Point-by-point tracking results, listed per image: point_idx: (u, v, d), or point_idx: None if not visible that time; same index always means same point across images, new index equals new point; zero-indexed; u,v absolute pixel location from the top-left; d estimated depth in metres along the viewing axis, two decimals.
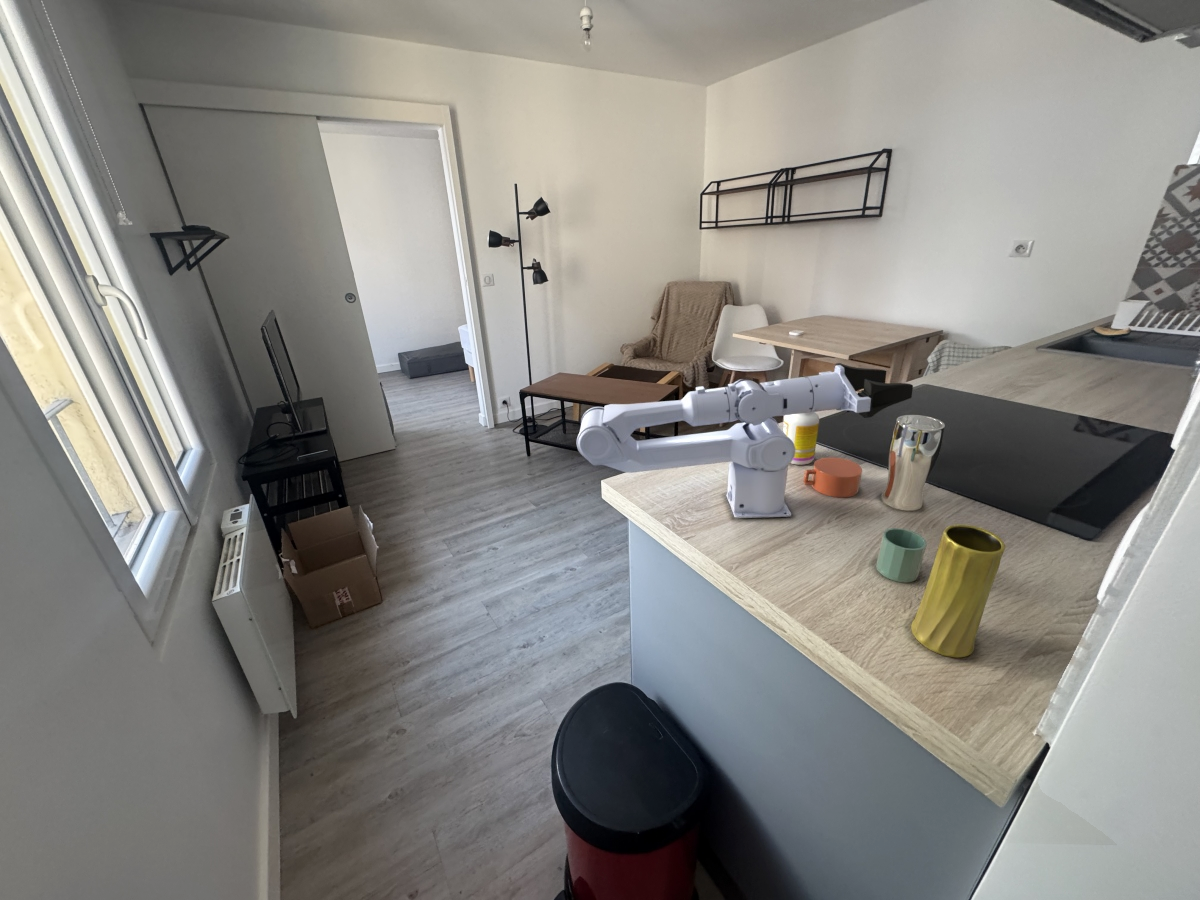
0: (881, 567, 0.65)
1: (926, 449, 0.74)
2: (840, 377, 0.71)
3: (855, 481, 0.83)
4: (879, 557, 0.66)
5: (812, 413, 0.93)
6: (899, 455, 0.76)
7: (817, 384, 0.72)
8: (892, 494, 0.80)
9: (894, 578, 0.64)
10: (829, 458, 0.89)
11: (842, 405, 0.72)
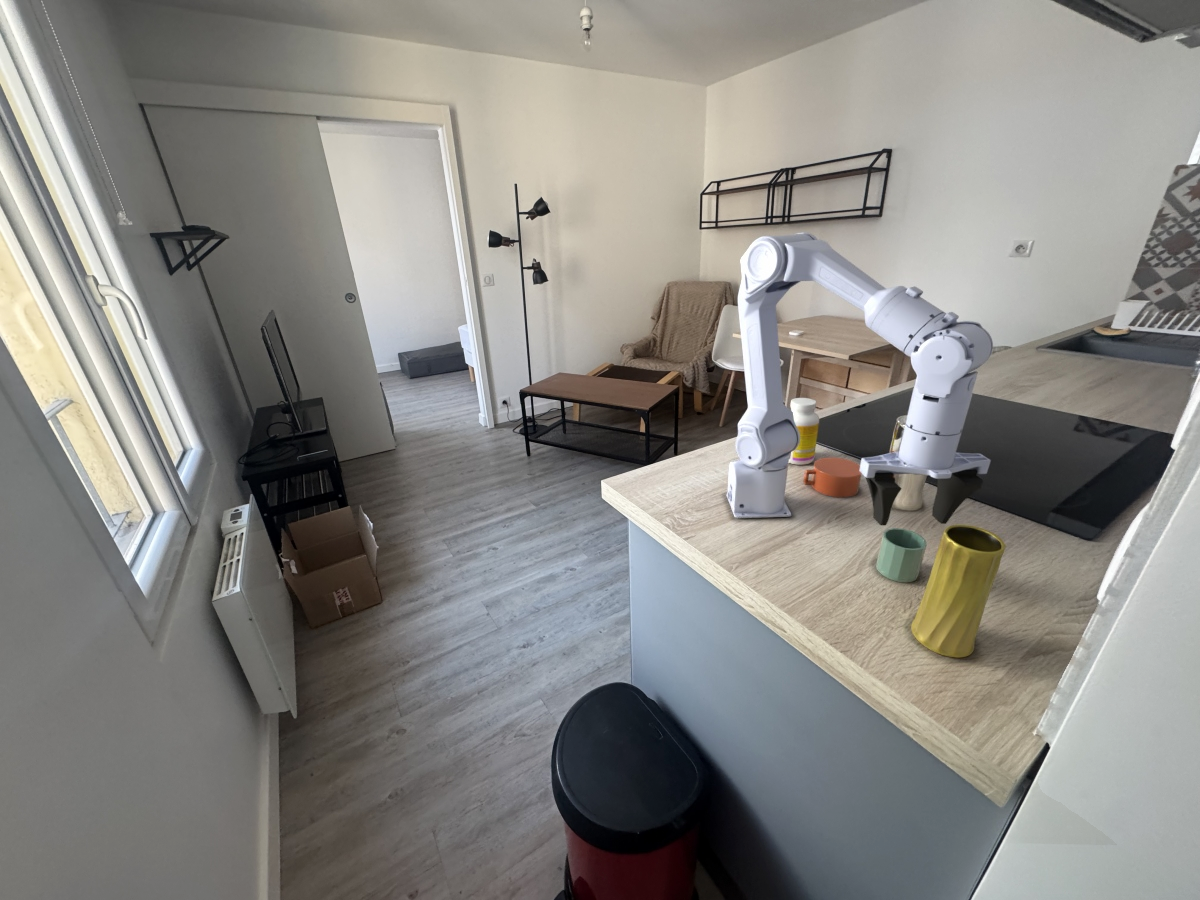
0: (881, 567, 0.65)
1: None
2: (926, 468, 0.56)
3: (855, 481, 0.83)
4: (879, 557, 0.66)
5: (812, 413, 0.93)
6: None
7: (926, 440, 0.55)
8: None
9: (894, 578, 0.64)
10: (829, 458, 0.89)
11: (897, 454, 0.60)
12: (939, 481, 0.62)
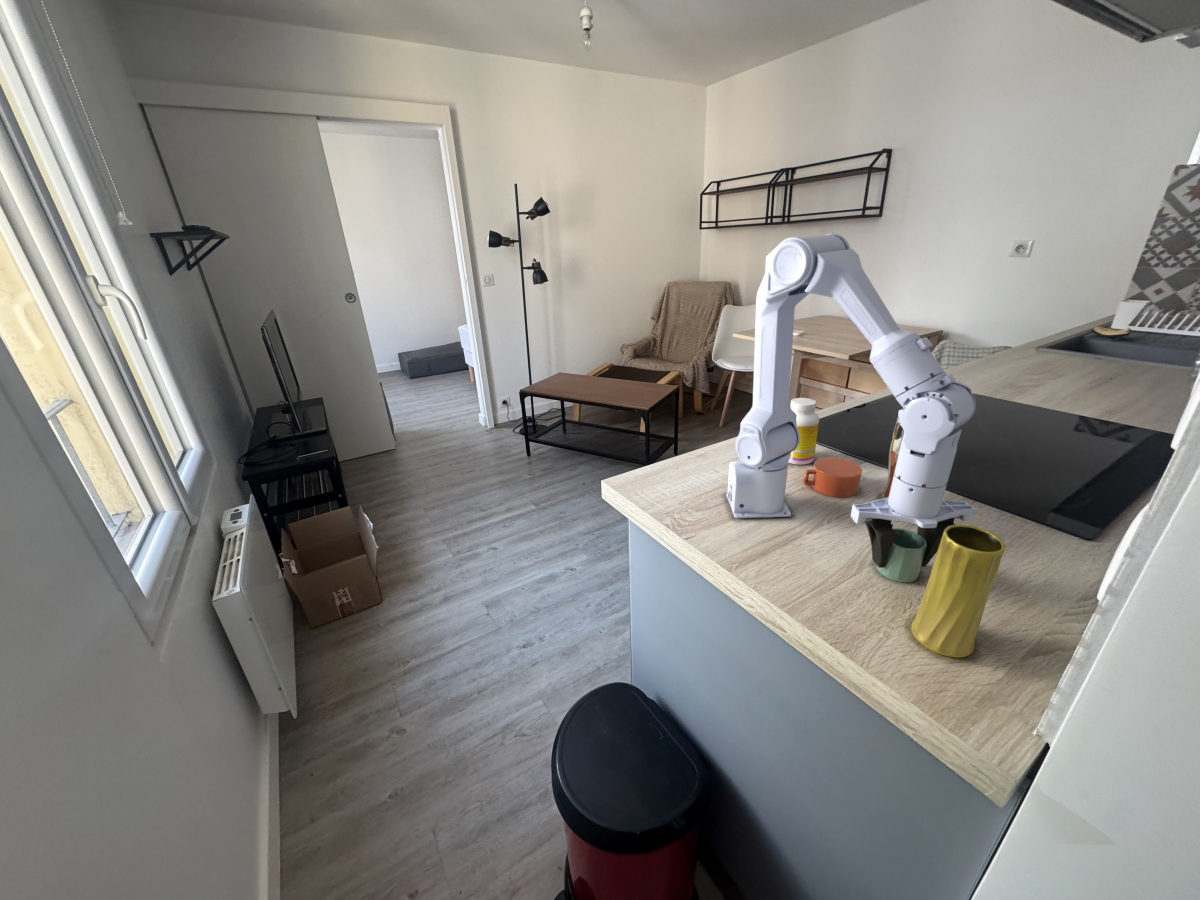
0: None
1: None
2: (913, 517, 0.59)
3: (855, 481, 0.83)
4: None
5: (812, 413, 0.93)
6: None
7: (913, 491, 0.58)
8: None
9: (894, 578, 0.64)
10: (829, 458, 0.89)
11: (886, 501, 0.63)
12: None
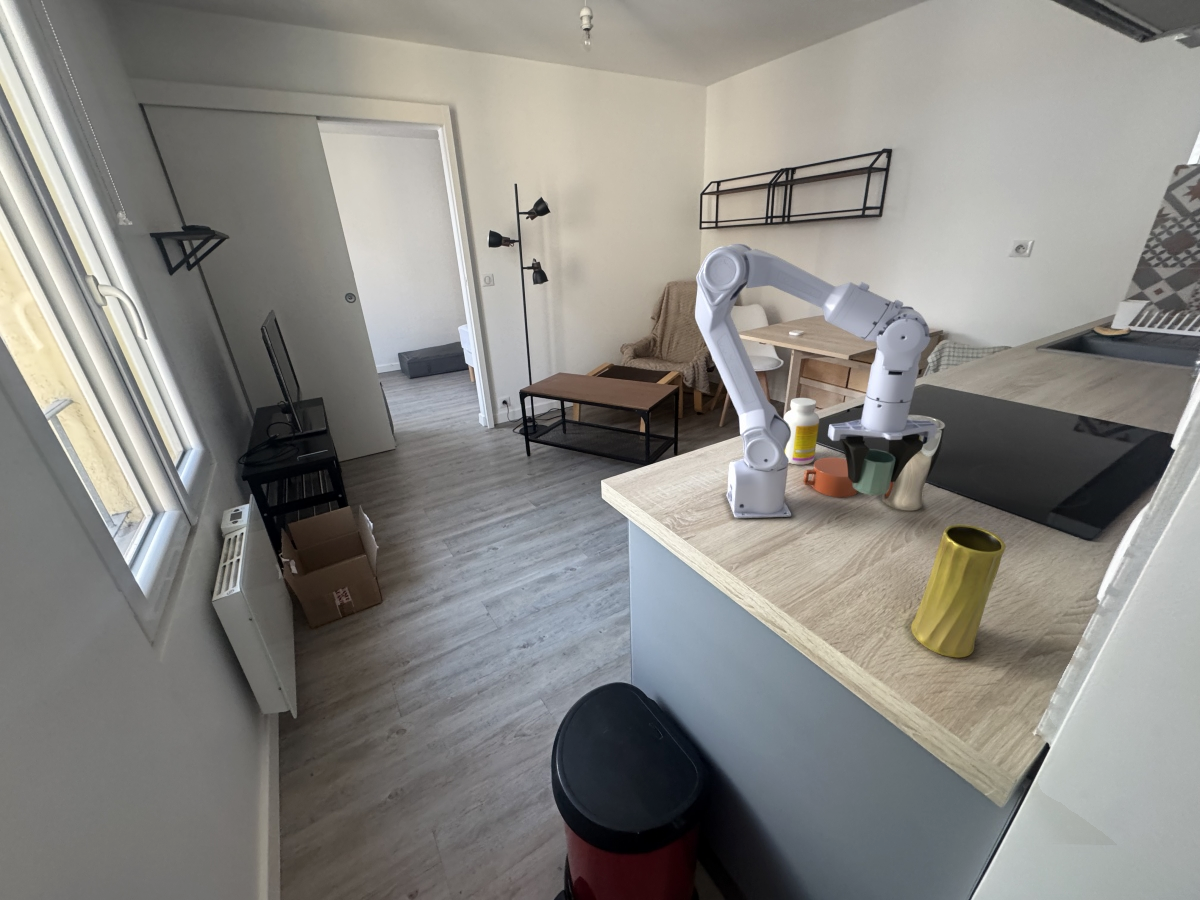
0: (856, 483, 0.73)
1: (926, 449, 0.74)
2: (882, 432, 0.67)
3: None
4: None
5: (812, 413, 0.93)
6: None
7: (881, 407, 0.66)
8: (892, 494, 0.80)
9: (866, 492, 0.72)
10: (829, 458, 0.89)
11: (859, 422, 0.71)
12: (890, 445, 0.72)
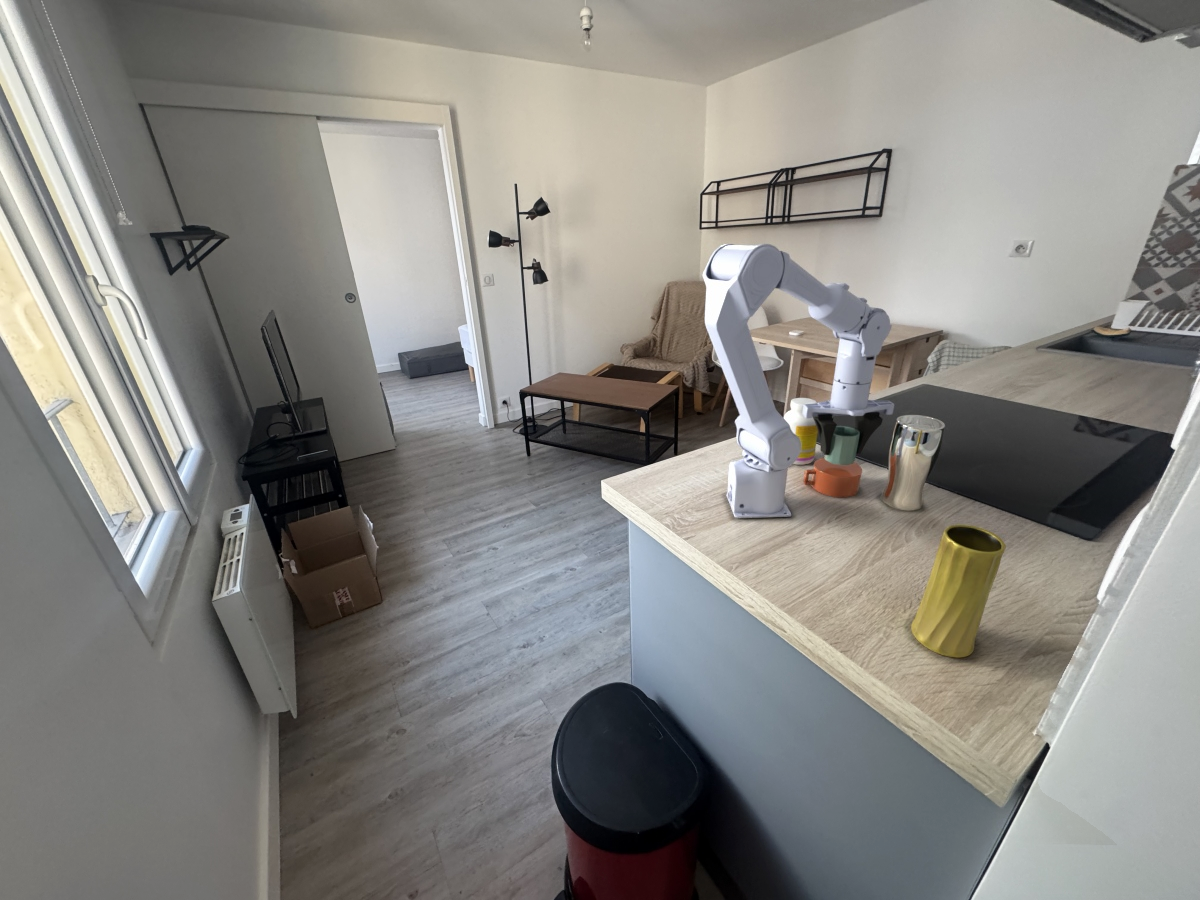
0: (827, 455, 0.84)
1: (926, 449, 0.74)
2: (847, 409, 0.78)
3: (855, 481, 0.83)
4: None
5: None
6: (899, 455, 0.76)
7: (846, 388, 0.77)
8: (892, 494, 0.80)
9: (836, 462, 0.83)
10: None
11: (829, 402, 0.82)
12: (856, 423, 0.84)
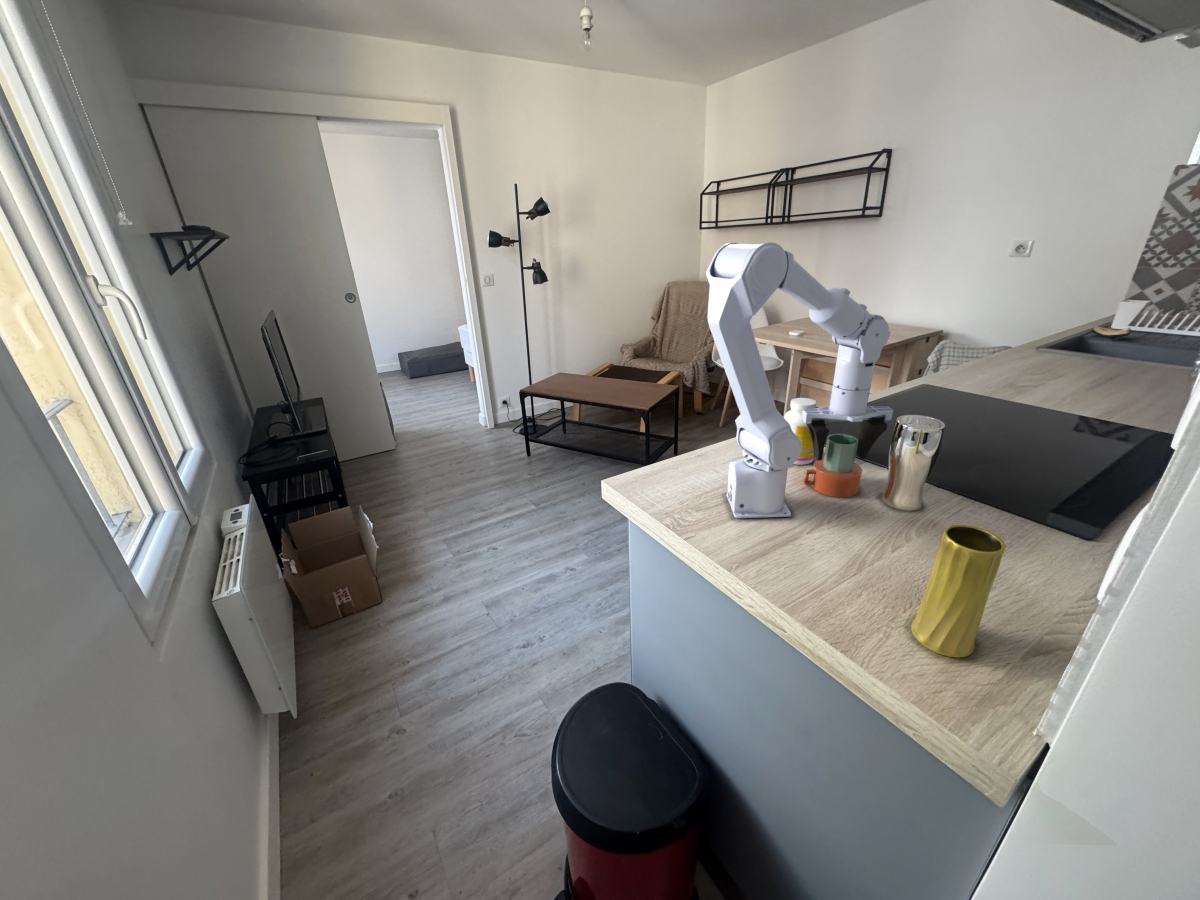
0: (826, 463, 0.85)
1: (926, 449, 0.74)
2: (846, 415, 0.79)
3: (855, 481, 0.83)
4: (824, 456, 0.85)
5: None
6: (899, 455, 0.76)
7: (845, 394, 0.78)
8: (892, 494, 0.80)
9: (834, 470, 0.84)
10: None
11: (828, 407, 0.83)
12: (860, 428, 0.84)
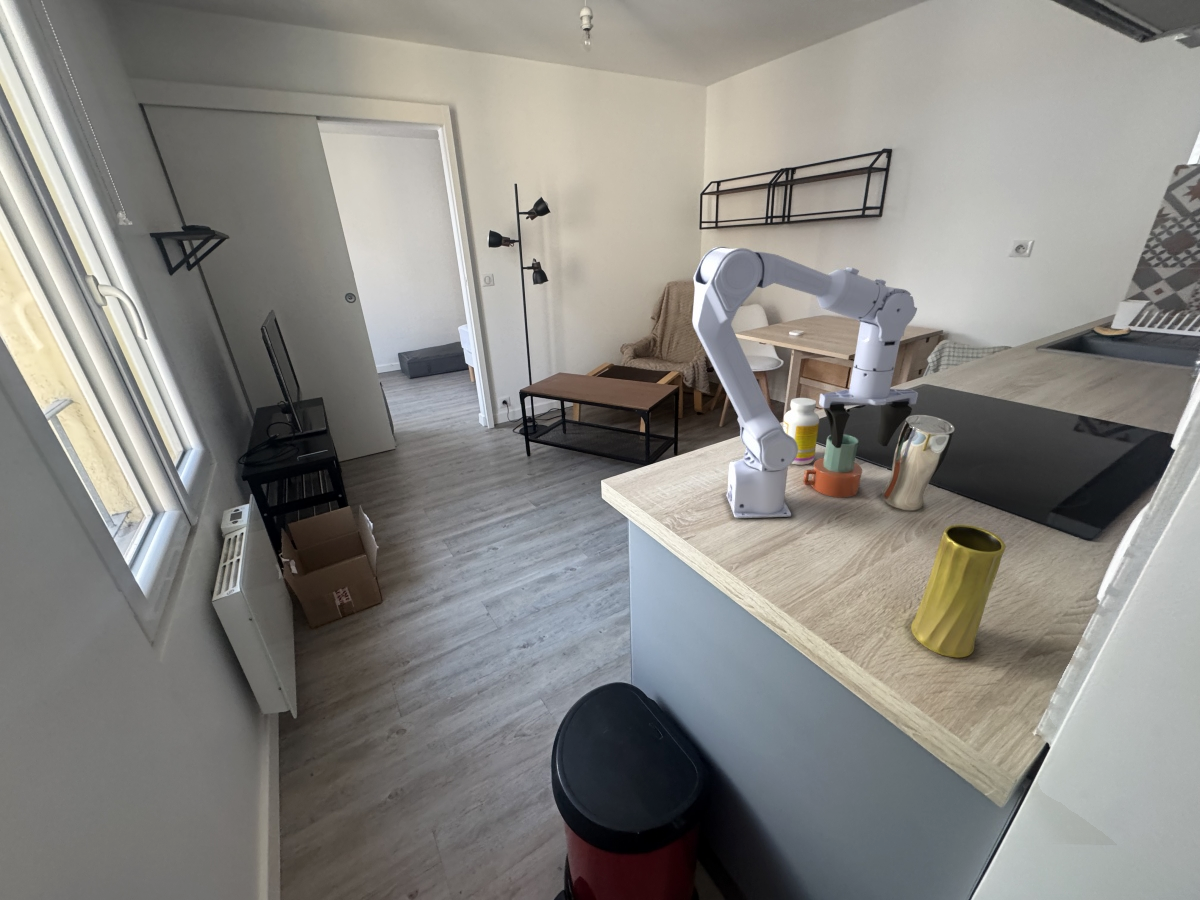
0: (826, 463, 0.85)
1: (933, 452, 0.73)
2: (867, 398, 0.73)
3: (855, 481, 0.83)
4: (824, 456, 0.85)
5: (812, 413, 0.93)
6: (905, 456, 0.75)
7: (867, 376, 0.72)
8: (894, 493, 0.79)
9: (834, 470, 0.84)
10: None
11: (848, 391, 0.77)
12: (882, 413, 0.79)
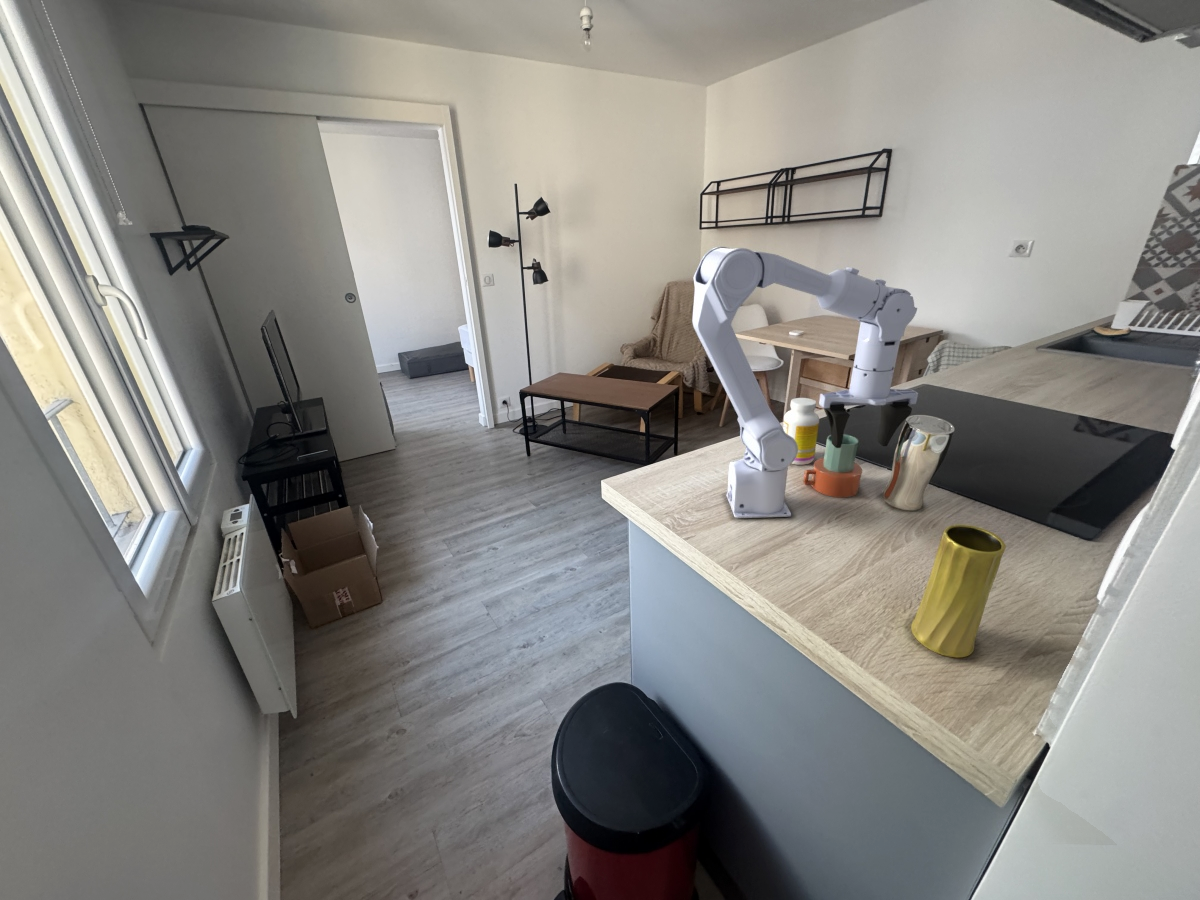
0: (826, 463, 0.85)
1: (933, 452, 0.73)
2: (867, 398, 0.73)
3: (855, 481, 0.83)
4: (824, 456, 0.85)
5: (812, 413, 0.93)
6: (905, 456, 0.75)
7: (867, 376, 0.72)
8: (894, 493, 0.79)
9: (834, 470, 0.84)
10: None
11: (848, 391, 0.77)
12: (882, 413, 0.79)
